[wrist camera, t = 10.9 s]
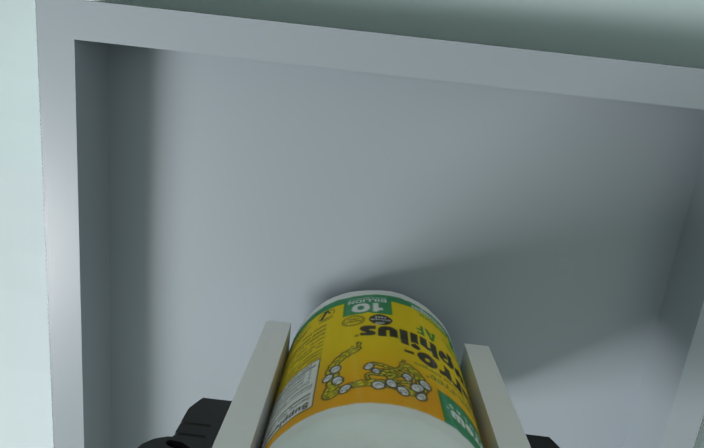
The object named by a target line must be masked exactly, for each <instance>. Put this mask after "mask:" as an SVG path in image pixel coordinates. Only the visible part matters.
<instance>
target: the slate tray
mask: <svg viewBox="0 0 704 448" xmlns="http://www.w3.org/2000/svg"><path fill="white" fill-rule="evenodd" d="M35 3H36V28H37V52H38V77H39V101H40V125H41V150H42V174H43V198H44V223H45V247H46V272H47V296H48V320H49V345H50V369H51V394H52V418H53V442H54V448H138V447H139V446H140V445H141V444H143V443H145V442H147V441H150V440H152V439H154V438H160V437H166V436H171V437H173V435H175V432H176V430H177V428H178V426H179V425H180V424H181V421H182V419H183V417H184V416H185V414H186V412H187V410H188V408H190V407H191V406H192V405H194V404H195V403H196V402H198V401H199V400H200V399H202V398H210V399H219V400H227V401H232V400H233V398H234V395H235V393H236V391H237V389H238V386H239V384H240V382H241V379H242V377H243V375H244V372H245V370H246V368H247V365H248V363H249V361H250V359H251V356H252V354H253V352H254V349H255V347H256V345H257V342H258V340H259V338H260V336H261V333H262V331H263V329H264V326H265V324H266V322H267V320H268V321H277V322H285V323H291V332H290V344H289V351H290V348H291V345H292V342H293V340H294V337H295V335H296V333H297V331H298V329H299V328H300V326H301V324H302V323H303V322H304V320H305V319H306V318H307V317H308V315H309V314H310V313H311V312H312V311H313V310H315V309H316V308H317V307H318V306H320V305H321V304H322V303H324V302H325V301H327V300H329V299H331V298H333V297H336V296H338V295H341V294H344V293H348V292H354V291H365V290H383V291H392V292H396V293H399V294H403V295H405V296H407V297H409V298H411V299H413V300H415V301H417V302H419V303H421V304H422V305H423V306H425V307H426V308H427V309H429V310H430V311H431V312H432V313H433V314H434V315H435V316H436V317H437V318H438V319H439V320H440V321H441V323H442V324H443V325H444V327H445V329H446V330H447V332H448V334H449V337H450V339H451V342H452V344H453V347H454V350H455V353H456V357H457V360H458V363H459V366H460V365H461V359H462V353H463V348H464V343H466V344H475V345H483V346H489V348H490V351H491V353H492V355H493V358H494V360H495V362H496V365H497V367H498V370H499V372H500V374H501V377H502V379H503V382H504V384H505V386H506V389H507V391H508V394H509V396H510V398H511V401H512V403H513V406H514V408H515V410H516V413H517V415H518V417H519V420H520V422H521V425H522V427H523V429H524V432H525V434H528V435H537V436H545V437H550V438H551V439H552V440H553V441H554V442H555V443H556V444H557V445H558V446H559V447H560V448H694V445H695V442H696V439H697V436H698V433H699V429H700V426H701V423H702V420H703V417H704V69H700V68H691V67H682V66H673V65H664V64H655V63H646V62H637V61H628V60H619V59H609V58H600V57H591V56H582V55H573V54H564V53H555V52H546V51H537V50H528V49H519V48H510V47H501V46H492V45H483V44H474V43H465V42H456V41H447V40H438V39H429V38H420V37H411V36H402V35H393V34H384V33H375V32H366V31H357V30H348V29H339V28H330V27H321V26H312V25H303V24H294V23H285V22H276V21H267V20H258V19H249V18H240V17H231V16H222V15H213V14H204V13H195V12H186V11H176V10H167V9H158V8H149V7H140V6H131V5H122V4H113V3H104V2H95V1H86V0H35Z"/></svg>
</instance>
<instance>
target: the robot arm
mask: <svg viewBox="0 0 704 448" xmlns="http://www.w3.org/2000/svg"><path fill="white" fill-rule="evenodd" d="M290 332H291V323H285V322H277V321H268V320H267V322H266V324H265V326H264V329H263V331H262V333H261V336H260V338H259V340H258V342H257V345H256V347H255V349H254V352H253V354H252V356H251V359H250V361H249V363H248V365H247V368H246V370H245V372H244V375H243V377H242V379H241V382H240V384H239V386H238V389H237V391H236V393H235V395H234V398H233V400H232V401H227V400H219V399H210V398H202V399H200V400H199V401H198V402H196V403H195V404H194V405H192V406H191V407H190V408H188V410H187V412H186V414H185V416H184V417H183V419H182V421H181V424H180V425H179V426H178V428H177V430H176V432H175V435H173V437H171V436H166V437H160V438H154V439H152V440H150V441H147V442H145V443H143V444H141V445H140V446H139V447H138V448H261V446H262V443H263V440H264V436H265V432H266V429H267V425H268V422H269V419H270V415H271V412H272V409H273V405H274V402H275V398H276V395H277V392H278V388H279V385H280V381H281V377H282V373H283V370H284V367H285V364H286V361H287V357H288V354H289V344H290ZM460 370H461V373H462V377H463V380H464V383H465V386H466V390H467V392H468V396H469V399H470V403H471V406H472V409H473V415H474V417H475V420H476V423H477V427H478V430H479V434H480V437H481V441H482V443H483V446H484V448H560V447H559V446H558V445H557V444H556V443H555V442H554V441H553V440H552V439H551V438H550V437H545V436H537V435H528V434H525V432H524V429H523V427H522V425H521V422H520V420H519V417H518V415H517V413H516V410H515V408H514V406H513V403H512V401H511V398H510V396H509V394H508V391H507V389H506V386H505V384H504V382H503V379H502V377H501V374H500V372H499V370H498V367H497V365H496V362H495V360H494V358H493V355H492V353H491V351H490V348H489V346H483V345H475V344H466V343H464V348H463V353H462V359H461V365H460Z"/></svg>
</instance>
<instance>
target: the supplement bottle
mask: <svg viewBox="0 0 704 448" xmlns="http://www.w3.org/2000/svg"><path fill="white" fill-rule="evenodd" d="M261 448H484V446H483V443H482V441H481V437H480V434H479V430H478V427H477V423H476V420H475V417H474V415H473V409H472V406H471V403H470V399H469V396H468V392H467V390H466V386H465V383H464V380H463V377H462V373H461V370H460V366H459V363H458V360H457V357H456V353H455V350H454V347H453V344H452V342H451V339H450V337H449V334H448V332H447V330H446V329H445V327H444V325H443V324H442V323H441V321H440V320H439V319H438V318H437V317H436V316H435V315H434V314H433V313H432V312H431V311H430V310H429V309H427V308H426V307H425V306H423V305H422V304H421V303H419V302H417V301H415V300H413V299H411V298H409V297H407V296H405V295H403V294H399V293H396V292H392V291H383V290H365V291H354V292H348V293H344V294H341V295H338V296H336V297H333V298H331V299H329V300H327V301H325V302H324V303H322V304H321V305H320V306H318V307H317V308H316V309H315V310H313V311H312V312H311V313H310V314H309V315H308V317H307V318H306V319H305V320H304V322H303V323H302V324H301V326H300V328H299V329H298V331H297V333H296V335H295V337H294V340H293V342H292V345H291V348H290V351H289V354H288V357H287V361H286V364H285V367H284V370H283V373H282V377H281V381H280V385H279V388H278V392H277V395H276V398H275V402H274V405H273V409H272V412H271V415H270V419H269V422H268V425H267V429H266V432H265V436H264V440H263V443H262V446H261Z"/></svg>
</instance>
